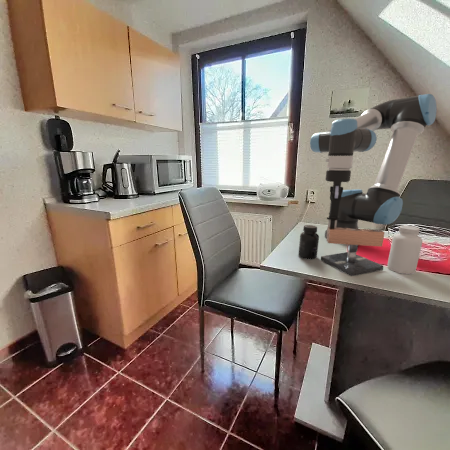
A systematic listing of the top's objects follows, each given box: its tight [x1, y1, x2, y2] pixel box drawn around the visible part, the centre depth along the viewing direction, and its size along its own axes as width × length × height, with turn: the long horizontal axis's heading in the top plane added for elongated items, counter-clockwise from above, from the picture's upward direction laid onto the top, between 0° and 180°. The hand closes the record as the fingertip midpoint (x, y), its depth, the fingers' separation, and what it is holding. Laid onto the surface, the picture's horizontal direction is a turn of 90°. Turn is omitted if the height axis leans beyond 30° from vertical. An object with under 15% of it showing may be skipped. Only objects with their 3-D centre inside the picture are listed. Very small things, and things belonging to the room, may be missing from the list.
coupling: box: [326, 226, 385, 253], centre depth 85 cm, size 3×17×8 cm, turn 79°
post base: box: [320, 250, 384, 277], centre depth 87 cm, size 14×14×5 cm
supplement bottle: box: [298, 224, 320, 260], centre depth 93 cm, size 7×7×12 cm
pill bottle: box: [386, 224, 423, 275], centre depth 82 cm, size 8×8×15 cm
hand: (330, 236), depth 88 cm, fingers closed
